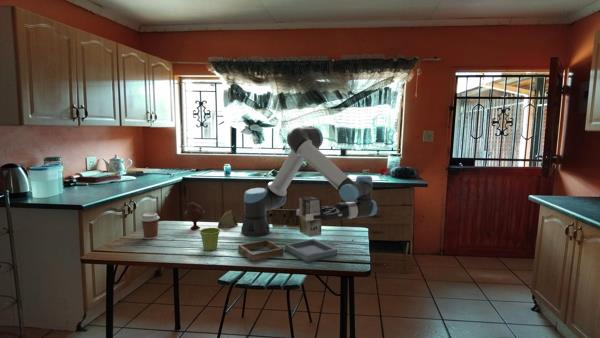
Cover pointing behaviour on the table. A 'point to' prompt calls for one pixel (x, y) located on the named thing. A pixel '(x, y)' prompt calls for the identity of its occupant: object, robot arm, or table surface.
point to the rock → (228, 220)
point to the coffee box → (309, 207)
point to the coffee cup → (150, 225)
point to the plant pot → (210, 238)
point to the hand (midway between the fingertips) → (301, 214)
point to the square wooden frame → (261, 255)
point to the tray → (310, 250)
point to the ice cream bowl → (194, 214)
